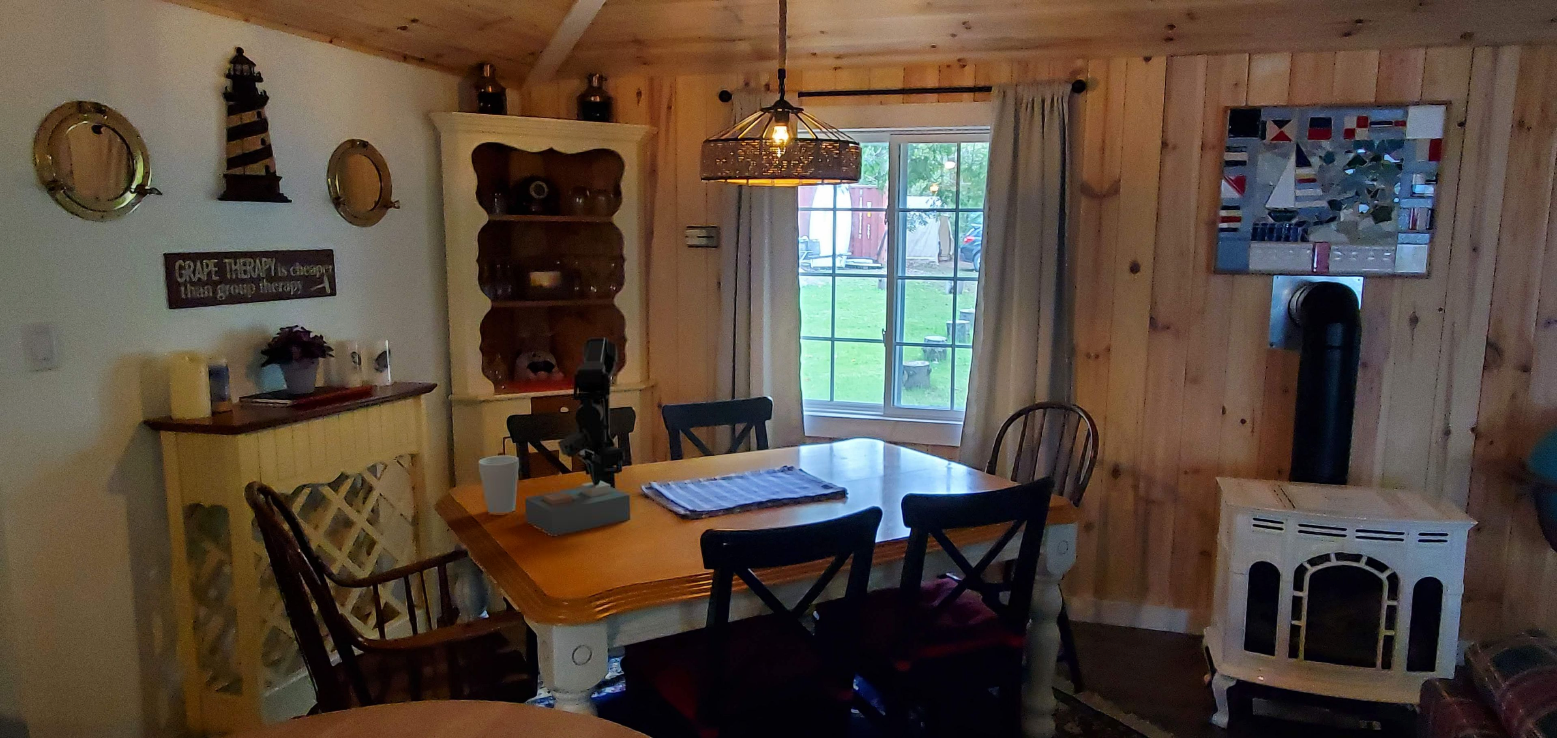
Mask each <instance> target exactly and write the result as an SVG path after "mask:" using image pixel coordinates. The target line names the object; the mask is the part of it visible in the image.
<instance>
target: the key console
mask: <svg viewBox="0 0 1557 738" xmlns="http://www.w3.org/2000/svg"><path fill="white" fill-rule="evenodd" d="M559 492H564V493H566V494H569V495H571V496H572V498H573V501H572V502H567V503H562V504H558V505H553V506H552V505H550V504H548V503H546V502H544V501H543V496H544V495H549V494H554V493H559ZM630 496H631V495H630V494H629V493H626V492H623V491H622V490H619V489H616V487H615V488H612V487H611V493H610V494H605V495H600V496H596V497H589V496H587V495H585V494H583V493H582V486H578V487H573V488H568V489H563V490H559V491H552V492H548V493H543V494H538V495H533V496H529V497H528V496H527V497H524V505H525V507H524V508H525V521H527V522H529V523H530V524H533V525H534V526H536V527H538V528H540V529H541V530H544V531H545V532H547V533H549V534H550V535H552V536H555V535H560V536H562V535H561V534H565V533H569V534H571V533H570V532H573V533H577V532H576V531H578V532H581V531H580V530H582V531H586V530H589V529H590V530H591V529H594V528H598V527H603V526H607V525H612V524H617V523H620V522H624V521H628V520H631V503H630V500H631V499H630ZM530 524H529V525H530ZM534 526H533V527H534ZM541 530H540V531H541ZM550 535H549V536H550ZM565 535H566V534H565Z"/></svg>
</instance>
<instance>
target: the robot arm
mask: <svg viewBox="0 0 1557 738" xmlns="http://www.w3.org/2000/svg"><path fill="white" fill-rule="evenodd" d="M586 340H587V341H586V342H585V344H583V348H582V349H583V350H582V353H583V354H582V356H583V357H582V359H583V361H584V363H582V364H580V365H578V368H577V372H576V373H574V376H573V397H572V398H573V401H579V407H578V408H577V411H576V413H575V416H574V417H575V422H576V424H577V426H576V432H574V433H570V435H568V436H565V437H564V438H562V439H560V440H558V442H557V445H558V447H559V450H560V452H561V454H562V455H563V456H566V457H568V458H572V457H574V456H577V458H579V459H580V460H582V461H583V462H584V467H585V470H584V471H585V475H586V476H587V475H589V476H590V478H591V482H593V484H594V485H598V484H599V482H600V481H603V482H605V483H607V484H610V487H612V488H615V489H616V476H615V474H620V473H623V463H622V461H624V460H625V451H624V450H623V449H622V448H621V447H617V444H616V443H615V441H614V439H613V437H612V436H611V432H610V431H611V428H610V427H611V426H610V425H611V423H610V420H611V418H610V417H611V415H610V412H611V411H610V409H611V408H610V406H611V405H610V403H611V402H610V399H611V398H610V395H611V377H612V376H613V374H614V373H615V371H616V363H618V361H619V358H618V357H619V356H618V352H619V351H618V348H617V344H616V343H613V342H612V341H609V339H608V338H606V337H590V338H587V339H586ZM578 453H579V454H578ZM576 454H578V455H576Z"/></svg>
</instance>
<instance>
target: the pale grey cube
mask: <svg viewBox="0 0 1557 738" xmlns="http://www.w3.org/2000/svg"><path fill="white" fill-rule="evenodd" d="M581 487H582V493H583V494H585V495H587V496H589V497H596V496H600V495H605V494H610V493H611V487H610V484H607V483H605V482H603V481H600V482H599V484H598V485H594V484H593V482H592V481H591V482H586V483H582V484H581Z"/></svg>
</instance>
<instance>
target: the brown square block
mask: <svg viewBox="0 0 1557 738" xmlns="http://www.w3.org/2000/svg"><path fill="white" fill-rule="evenodd" d="M543 501H544V502H546V503H548V504H550V505H552V506H553V505H558V504H562V503H567V502H572V501H573V498H572V496H571V495H569V494H566V493H564V492H559V493H554V494H549V495H544V496H543Z"/></svg>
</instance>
